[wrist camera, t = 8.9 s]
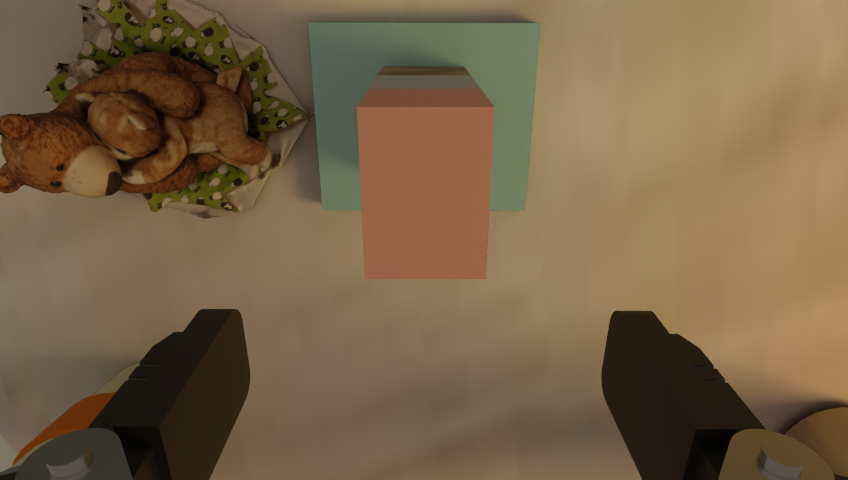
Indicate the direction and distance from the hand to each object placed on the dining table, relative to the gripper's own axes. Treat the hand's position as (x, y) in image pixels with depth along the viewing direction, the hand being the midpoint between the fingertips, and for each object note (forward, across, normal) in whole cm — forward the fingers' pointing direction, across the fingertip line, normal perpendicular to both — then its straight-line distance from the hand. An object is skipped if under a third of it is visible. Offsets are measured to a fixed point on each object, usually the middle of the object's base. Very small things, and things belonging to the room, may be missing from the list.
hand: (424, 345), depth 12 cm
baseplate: (+26, 0, 0) cm, 26 cm away
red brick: (+15, 0, 0) cm, 15 cm away
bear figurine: (+27, +16, 0) cm, 31 cm away
